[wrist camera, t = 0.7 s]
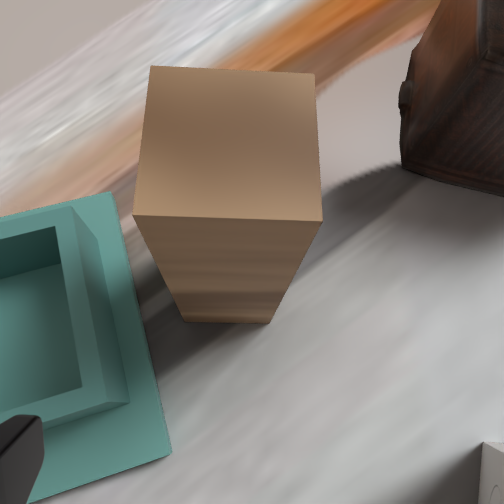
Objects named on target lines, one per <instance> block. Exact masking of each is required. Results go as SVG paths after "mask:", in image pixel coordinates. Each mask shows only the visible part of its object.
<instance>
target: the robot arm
mask: <svg viewBox="0 0 504 504" xmlns="http://www.w3.org/2000/svg"><path fill="white" fill-rule="evenodd" d="M44 455H45V449H44V437H43V425H42V420H41V418H40V417H39V416H37V415H24V414H19V415H15V416H13V417H11V418H9V419H7V420H6V421H4V422H2V423H1V424H0V504H26V503H27V501H28V498H29V496H30V493H31V491H32V489H33V486H34V484H35V481H36V479H37V477H38V474H39V472H40V469H41V467H42V464H43V461H44Z"/></svg>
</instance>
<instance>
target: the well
mask: <svg viewBox="0 0 504 504" xmlns="http://www.w3.org/2000/svg"><path fill="white" fill-rule="evenodd" d="M19 414H24V415H37V416H39V417H40V418H41V420H42V425H43V437H44V449H45V455H44V461H43V464H42V467H41V469H40V472H39V474H38V477H37V479H36V481H35V484H34V486H33V489H32V491H31V493H30V496H29V498H28V501H27V503H26V504H29V503H32V502H35V501H38V500H41V499H43V498H46V497H49V496H52V495H55V494H58V493H61V492H64V491H66V490H69V489H72V488H75V487H78V486H81V485H84V484H87V483H89V482H92V481H95V480H98V479H101V478H104V477H107V476H110V475H112V474H115V473H118V472H121V471H124V470H127V469H130V468H133V467H135V466H138V465H141V464H144V463H147V462H150V461H153V460H156V459H159V458H161V457H164V456H167V455H170V454H171V453H172V448H171V444H170V440H169V435H168V431H167V426H166V422H165V418H164V413H163V409H162V404H161V400H160V396H159V391H158V387H157V383H156V378H155V374H154V369H153V365H152V361H151V356H150V352H149V347H148V343H147V339H146V334H145V330H144V326H143V321H142V317H141V312H140V308H139V304H138V299H137V295H136V290H135V286H134V282H133V277H132V273H131V269H130V264H129V260H128V255H127V251H126V247H125V242H124V238H123V233H122V229H121V225H120V220H119V216H118V211H117V207H116V203H115V199H114V197H113V195H112V193H111V192H110V191H109V192H105V193H100V194H96V195H92V196H88V197H84V198H80V199H75V200H71V201H67V202H63V203H59V204H54V205H50V206H46V207H42V208H38V209H33V210H29V211H25V212H21V213H17V214H13V215H8V216H4V217H0V424H1V423H2V422H4V421H6V420H7V419H9V418H11V417H13V416H15V415H19Z"/></svg>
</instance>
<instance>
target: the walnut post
mask: <svg viewBox="0 0 504 504" xmlns="http://www.w3.org/2000/svg"><path fill="white" fill-rule="evenodd" d="M319 166H320V165H319V147H318V130H317V114H316V95H315V77H314V74H305V73H286V72H266V71H247V70H228V69H208V68H189V67H170V66H151V67H150V75H149V83H148V91H147V99H146V107H145V115H144V123H143V132H142V140H141V148H140V156H139V164H138V172H137V180H136V188H135V197H134V205H133V213H132V215H133V218H134V220H135V222H136V224H137V226H138V228H139V230H140V232H141V234H142V236H143V238H144V240H145V242H146V244H147V246H148V248H149V250H150V252H151V254H152V256H153V258H154V260H155V262H156V264H157V266H158V268H159V270H160V272H161V275H162V277H163V279H164V281H165V283H166V285H167V287H168V289H169V291H170V293H171V295H172V297H173V299H174V301H175V303H176V305H177V307H178V309H179V311H180V313H181V315H182V317H183V319H184V321H185V322H216V323H267V324H269V323H270V321H271V320H272V318H273V316H274V314H275V312H276V310H277V308H278V306H279V304H280V302H281V300H282V298H283V297H284V295H285V293H286V291H287V289H288V287H289V285H290V283H291V281H292V279H293V277H294V275H295V274H296V272H297V270H298V268H299V266H300V264H301V262H302V260H303V258H304V256H305V254H306V252H307V250H308V249H309V247H310V245H311V243H312V241H313V239H314V237H315V235H316V233H317V231H318V229H319V227H320V226H321V224H322V222H323V217H322V200H321V182H320V167H319Z"/></svg>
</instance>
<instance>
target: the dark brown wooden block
mask: <svg viewBox="0 0 504 504" xmlns="http://www.w3.org/2000/svg"><path fill="white" fill-rule="evenodd" d="M398 107H399V109H400V115H401V128H400V153H401V163H402V168H405V169H407V170H410V171H413V172H416V173H418V174H421V175H424V176H426V177H429V178H432V179H434V180H437V181H440V182H445V183H449V184H453V185H457V186H461V187H465V188H470V189H474V190H478V191H482V192H486V193H491V194H495V195H499V196H503V197H504V0H441V2H440V4H439V6H438V8H437V10H436V12H435V14H434V16H433V18H432V19H431V21H430V23H429V25H428V27H427V29H426V30H425V32H424V34H423V36H422V38H421V40H420V42H419V43H418V44H417V46H416V47H415V48H414V49H413V50H412V53H411V58H410V63H409V67H408V72H407V77H406V80H405V81H404V82H402V85H401V87H400V92H399V103H398Z"/></svg>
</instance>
